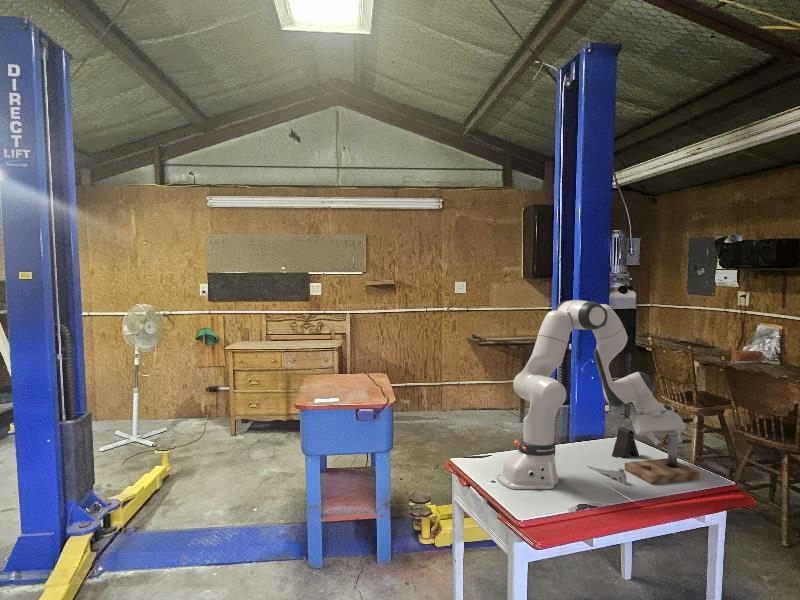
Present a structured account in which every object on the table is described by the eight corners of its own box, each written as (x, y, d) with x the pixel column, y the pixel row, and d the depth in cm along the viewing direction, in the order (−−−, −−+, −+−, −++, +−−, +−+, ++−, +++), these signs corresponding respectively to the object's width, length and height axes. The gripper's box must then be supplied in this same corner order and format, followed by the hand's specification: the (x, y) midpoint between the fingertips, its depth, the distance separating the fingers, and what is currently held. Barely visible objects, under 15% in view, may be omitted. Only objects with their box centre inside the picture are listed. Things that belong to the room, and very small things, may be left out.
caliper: (626, 487, 167) (626, 470, 167) (624, 488, 167) (624, 470, 167) (585, 468, 186) (585, 452, 186) (583, 468, 186) (583, 452, 186)
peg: (671, 475, 175) (672, 437, 175) (665, 472, 178) (666, 435, 178) (678, 474, 175) (679, 437, 175) (672, 471, 178) (672, 435, 178)
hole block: (651, 487, 166) (651, 476, 166) (624, 472, 180) (624, 462, 180) (699, 482, 171) (699, 471, 171) (669, 468, 184) (669, 458, 184)
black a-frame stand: (629, 453, 201) (629, 426, 201) (639, 458, 196) (639, 429, 196) (611, 456, 199) (611, 427, 199) (622, 460, 193) (622, 431, 193)
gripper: (631, 408, 183) (649, 441, 173) (676, 406, 187) (696, 437, 178) (623, 417, 187) (641, 449, 178) (667, 414, 191) (687, 445, 182)
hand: (669, 443), depth 178 cm, fingers open, 8 cm apart
